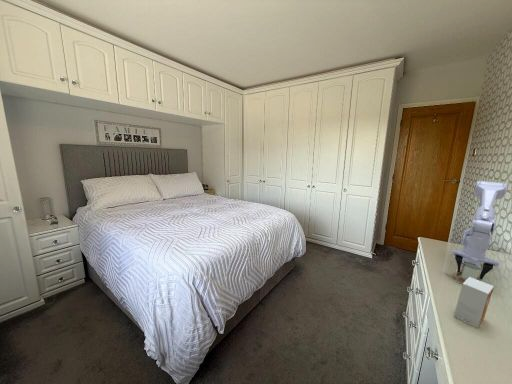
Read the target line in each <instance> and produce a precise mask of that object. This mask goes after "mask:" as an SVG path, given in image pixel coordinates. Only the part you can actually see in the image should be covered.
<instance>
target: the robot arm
mask: <svg viewBox="0 0 512 384" xmlns="http://www.w3.org/2000/svg"><path fill="white" fill-rule="evenodd" d="M507 188H508V184H507V183H505V182H493V181H485V180H478V181H476V184H475V188H474V197H477V198H478V199H479V203H478V207H477V208H476V212H475V215H474V219H473V220H472V222H471V227H470V228H467V229H465V230H464V232H463V234H462V238H461V244H462V245H463V248H462V250H457V249H451V256H454V259H455V262H456V264H457V266H456V267H457V268H458V272H459V273H460V269H462V265H463V262H464V261H467V262H470V263H474V264H476V266H478V267H479V269H481V268H482V269H481V271H480V273H479V277H480V279H481V280H483V278H484V277H485V275H487V274H488V273H489V272H490V271H493V269H494V267H496V268H499V266H500V262H499V261H498V260H494V259H492V258H488V257H486V253H487V250H489V248H490V244H491V238H492V235H493V234H494V231H495V227H496V221H495V216H496V209H495V208H493V206H494V203H495V201H496V200H502V198H504V196H505V195H506V192H507ZM481 264H482V265H481ZM481 266H482V267H481Z"/></svg>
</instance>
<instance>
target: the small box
mask: <svg viewBox="0 0 512 384" xmlns="http://www.w3.org/2000/svg"><path fill="white" fill-rule="evenodd" d="M494 287H495V286H494V285H492V284H489V283H487V282H484V281H479V280H476V279H474V278H471V277H469V278H468V279H466V280H465V282H464V283H463V284H462V285H461V287H460V292H459V295H458V299H457V303H456V307H455V311H454V313H453V317H454V318H457V319H458V320H460V321H463V322H464V323H466V324H469V326H472V327H474V328H477V329H479V328H480V326H481V324H482V323H483V321H484V320H485V318H486V313H487V310H488V307H489V305H490V300H491V298H492V294H493V291H494Z"/></svg>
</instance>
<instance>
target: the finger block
mask: <svg viewBox="0 0 512 384" xmlns="http://www.w3.org/2000/svg"><path fill="white" fill-rule="evenodd" d="M462 266H463V265H462ZM478 274H480V268H479V267H478V266H475V265H471V264H468V263H464V266H463V270H462V274H461V278H462V279H465V280H466V279H468V278H469V277H471V278H474V279H476V280H477V277H478Z"/></svg>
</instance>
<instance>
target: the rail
mask: <svg viewBox="0 0 512 384" xmlns="http://www.w3.org/2000/svg"><path fill="white" fill-rule="evenodd" d="M464 263H468V264H471V265H475V266H476V264H474V263H470V262H467V261H464V262H463V263H462V265H461V268H460V273H459V272H458V266H456V268H455V280H454V281H455V283H458V284H463V283H464V282H465V279H462V278H461V274H462V270H463V266H464ZM477 280H479V281H481V280H482V279H480V273H478V277H477Z"/></svg>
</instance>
